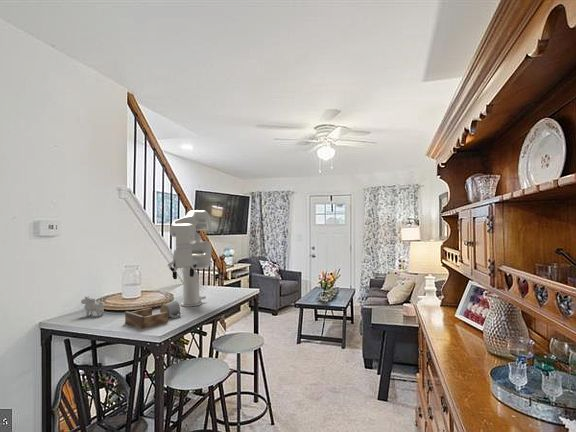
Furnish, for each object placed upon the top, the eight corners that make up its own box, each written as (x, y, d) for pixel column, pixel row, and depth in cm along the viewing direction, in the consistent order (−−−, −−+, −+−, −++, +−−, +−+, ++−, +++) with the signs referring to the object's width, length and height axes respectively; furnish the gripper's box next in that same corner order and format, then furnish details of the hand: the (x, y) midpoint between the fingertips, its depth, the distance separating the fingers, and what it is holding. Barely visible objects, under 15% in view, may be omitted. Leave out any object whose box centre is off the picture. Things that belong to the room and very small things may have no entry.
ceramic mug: (158, 317, 181) (159, 303, 182) (171, 313, 188) (171, 299, 189) (172, 320, 176) (172, 305, 176) (184, 316, 183) (184, 302, 183)
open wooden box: (150, 316, 182) (150, 306, 182) (167, 322, 172) (167, 310, 172) (125, 323, 172) (125, 311, 172) (141, 328, 161) (141, 317, 161)
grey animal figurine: (85, 313, 192) (85, 295, 192) (106, 314, 190) (106, 295, 190) (78, 316, 187) (78, 297, 187) (99, 316, 185) (99, 297, 185)
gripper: (194, 245, 195) (194, 274, 195) (164, 247, 183) (165, 279, 183) (200, 246, 189) (201, 276, 189) (170, 248, 178) (171, 280, 178)
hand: (183, 277), depth 186 cm, fingers open, 9 cm apart
